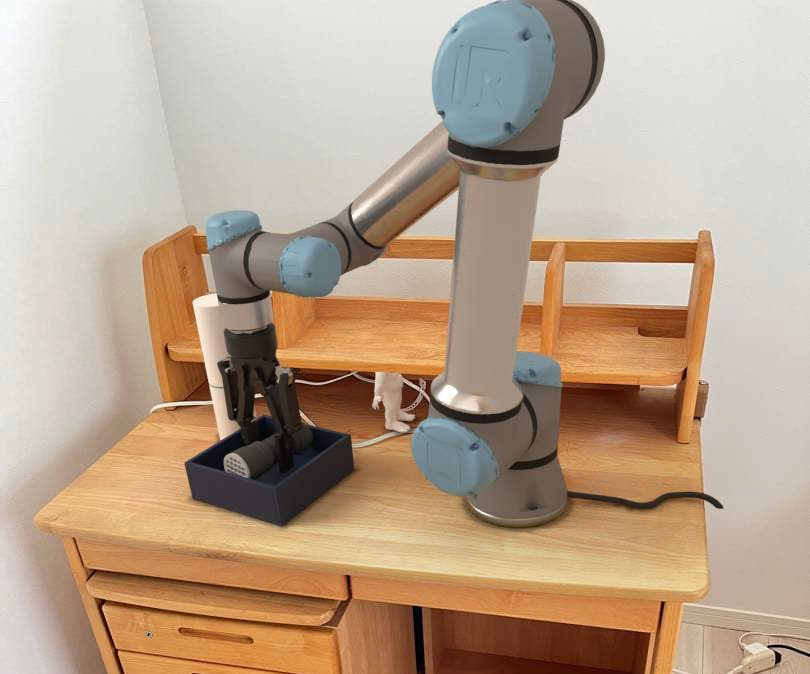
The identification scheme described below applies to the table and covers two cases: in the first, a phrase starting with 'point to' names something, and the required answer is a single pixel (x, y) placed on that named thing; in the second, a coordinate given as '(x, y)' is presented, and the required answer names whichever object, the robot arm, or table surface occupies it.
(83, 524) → the table surface
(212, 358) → the cylindrical container
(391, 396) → the toy creature
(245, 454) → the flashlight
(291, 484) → the bin
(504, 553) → the table surface
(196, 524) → the table surface
